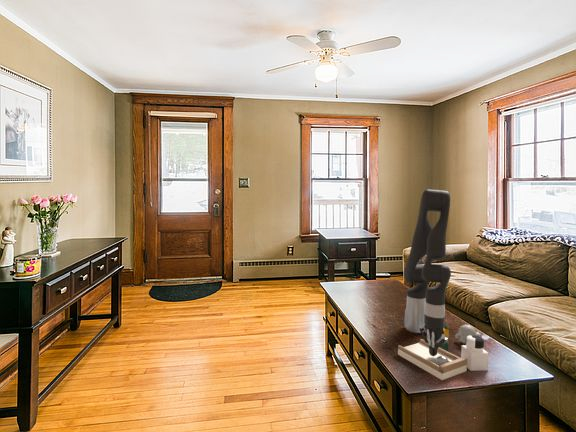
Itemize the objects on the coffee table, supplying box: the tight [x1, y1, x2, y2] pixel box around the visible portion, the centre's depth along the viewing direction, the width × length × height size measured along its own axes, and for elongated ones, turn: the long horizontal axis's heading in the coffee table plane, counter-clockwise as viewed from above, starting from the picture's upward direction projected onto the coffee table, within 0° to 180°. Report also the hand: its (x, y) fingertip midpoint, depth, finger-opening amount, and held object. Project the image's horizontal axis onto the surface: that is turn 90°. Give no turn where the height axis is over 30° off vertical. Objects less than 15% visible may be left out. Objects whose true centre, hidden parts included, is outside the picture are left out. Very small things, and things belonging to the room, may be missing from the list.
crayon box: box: [439, 323, 450, 352], centre depth 151 cm, size 7×3×12 cm, turn 21°
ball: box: [436, 356, 449, 365], centre depth 134 cm, size 5×5×5 cm
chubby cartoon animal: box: [454, 324, 485, 345], centre depth 156 cm, size 7×12×8 cm, turn 88°
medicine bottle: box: [460, 335, 489, 372], centre depth 136 cm, size 7×7×12 cm
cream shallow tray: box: [397, 338, 468, 381], centre depth 139 cm, size 22×14×5 cm, turn 27°
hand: (432, 355), depth 138 cm, fingers closed
